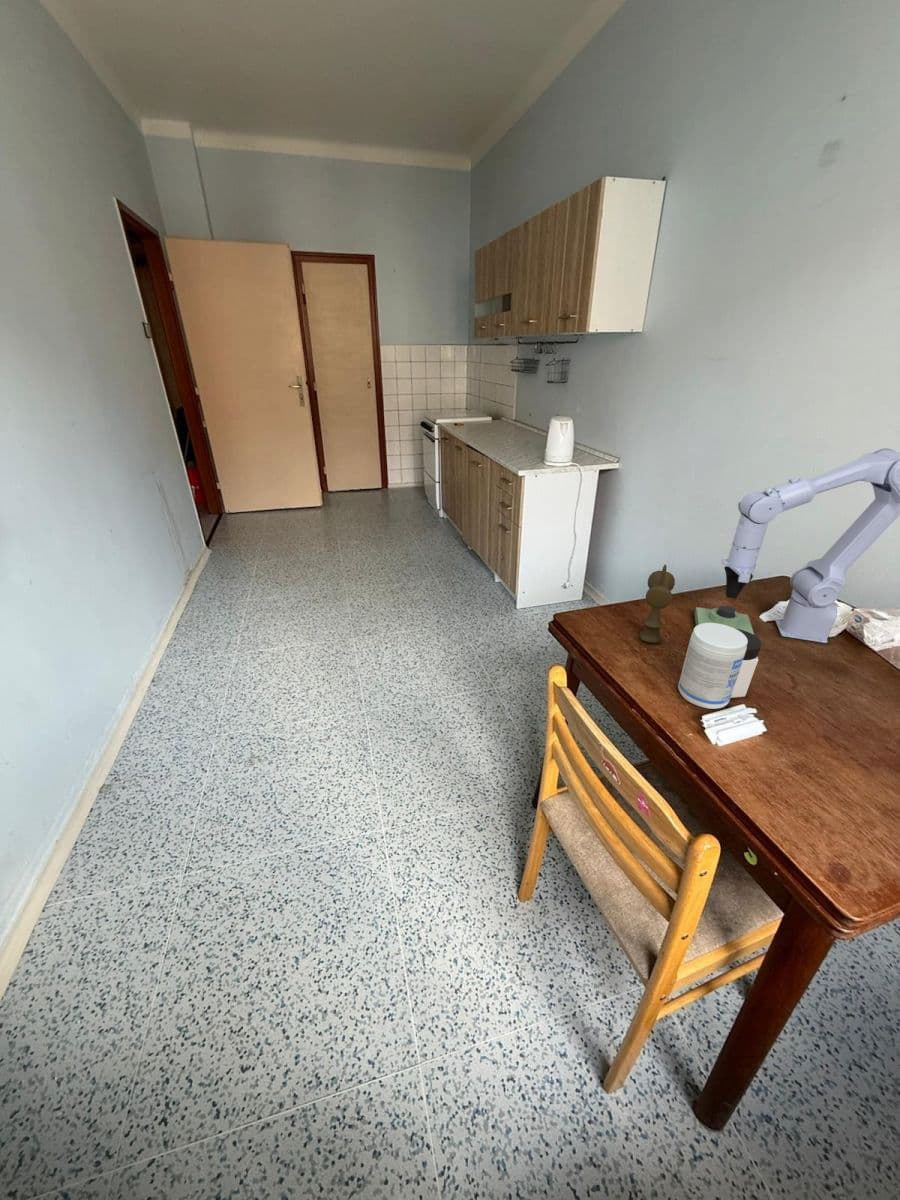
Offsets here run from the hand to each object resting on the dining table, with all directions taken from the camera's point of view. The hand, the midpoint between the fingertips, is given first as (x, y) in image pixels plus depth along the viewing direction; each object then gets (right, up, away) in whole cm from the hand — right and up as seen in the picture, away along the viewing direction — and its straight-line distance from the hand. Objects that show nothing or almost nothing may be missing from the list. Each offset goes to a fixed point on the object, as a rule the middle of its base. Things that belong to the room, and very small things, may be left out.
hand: (730, 597), depth 115 cm
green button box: (0, -8, +4) cm, 9 cm away
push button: (0, -5, +2) cm, 5 cm away
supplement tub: (-17, -20, -19) cm, 33 cm away
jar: (-11, -19, -16) cm, 27 cm away
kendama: (-20, -11, 0) cm, 23 cm away
